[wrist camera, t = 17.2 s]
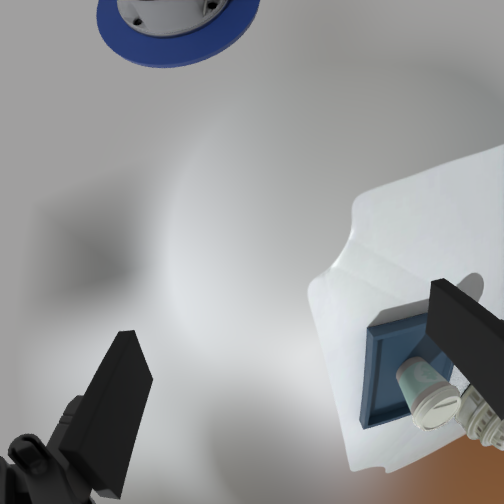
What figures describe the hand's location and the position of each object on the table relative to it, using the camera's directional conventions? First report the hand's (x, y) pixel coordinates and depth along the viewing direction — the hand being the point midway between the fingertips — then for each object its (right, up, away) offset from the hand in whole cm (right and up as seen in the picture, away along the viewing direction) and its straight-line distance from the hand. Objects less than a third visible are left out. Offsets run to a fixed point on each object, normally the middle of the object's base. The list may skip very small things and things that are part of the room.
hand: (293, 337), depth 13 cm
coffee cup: (+26, -17, +34) cm, 46 cm away
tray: (+26, -17, +35) cm, 46 cm away
